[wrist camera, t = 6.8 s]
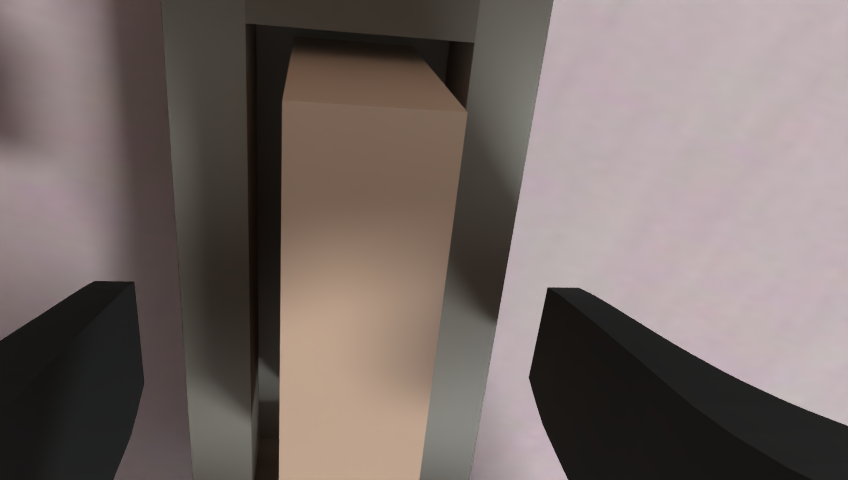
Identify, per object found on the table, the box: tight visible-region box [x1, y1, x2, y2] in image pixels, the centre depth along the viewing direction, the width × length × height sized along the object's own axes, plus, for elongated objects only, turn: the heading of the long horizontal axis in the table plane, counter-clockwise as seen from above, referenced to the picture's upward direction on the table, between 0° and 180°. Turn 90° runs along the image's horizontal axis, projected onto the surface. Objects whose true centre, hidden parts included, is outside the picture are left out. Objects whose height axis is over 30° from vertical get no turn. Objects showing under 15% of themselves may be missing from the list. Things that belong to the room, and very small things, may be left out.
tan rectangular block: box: [279, 36, 468, 480], centre depth 11 cm, size 8×2×5 cm, turn 174°
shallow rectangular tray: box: [161, 0, 553, 480], centre depth 14 cm, size 12×6×3 cm, turn 174°
